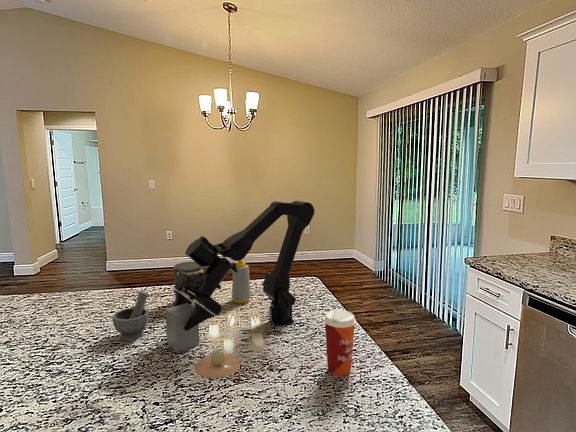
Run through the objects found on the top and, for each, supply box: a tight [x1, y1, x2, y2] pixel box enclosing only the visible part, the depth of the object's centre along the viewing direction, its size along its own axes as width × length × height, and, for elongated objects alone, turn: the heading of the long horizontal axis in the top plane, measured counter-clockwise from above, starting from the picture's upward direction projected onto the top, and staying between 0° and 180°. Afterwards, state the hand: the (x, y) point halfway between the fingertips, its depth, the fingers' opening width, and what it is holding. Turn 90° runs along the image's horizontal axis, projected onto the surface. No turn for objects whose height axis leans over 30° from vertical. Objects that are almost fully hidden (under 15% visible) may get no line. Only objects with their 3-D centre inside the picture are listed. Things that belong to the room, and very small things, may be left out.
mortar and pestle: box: [112, 291, 150, 342], centre depth 111 cm, size 11×9×12 cm
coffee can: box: [172, 261, 204, 308], centre depth 136 cm, size 10×10×14 cm
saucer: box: [194, 349, 241, 379], centre depth 92 cm, size 11×11×5 cm
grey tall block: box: [164, 303, 200, 353], centre depth 102 cm, size 6×6×11 cm
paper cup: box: [323, 309, 357, 377], centre depth 92 cm, size 8×8×14 cm
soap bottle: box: [231, 259, 252, 304], centre depth 138 cm, size 7×7×18 cm
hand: (177, 324), depth 101 cm, fingers open, 9 cm apart
